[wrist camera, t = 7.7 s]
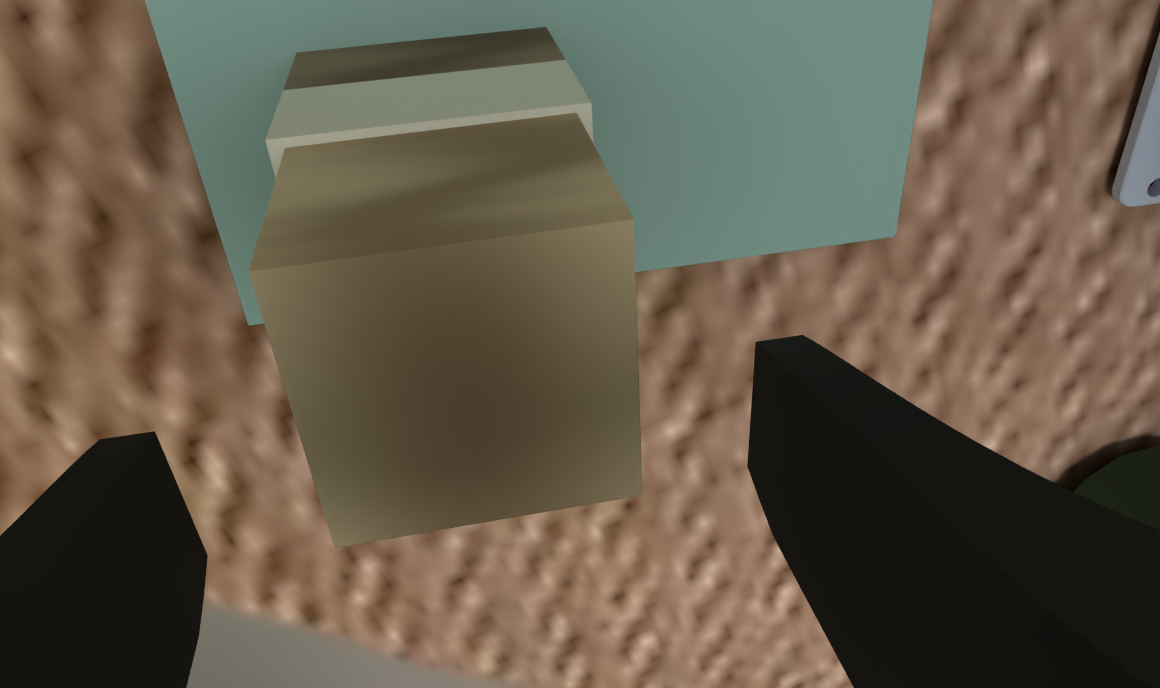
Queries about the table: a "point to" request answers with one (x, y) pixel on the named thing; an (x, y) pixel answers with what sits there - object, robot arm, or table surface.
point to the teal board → (609, 107)
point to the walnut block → (422, 57)
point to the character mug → (1128, 486)
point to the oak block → (454, 324)
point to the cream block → (425, 104)
